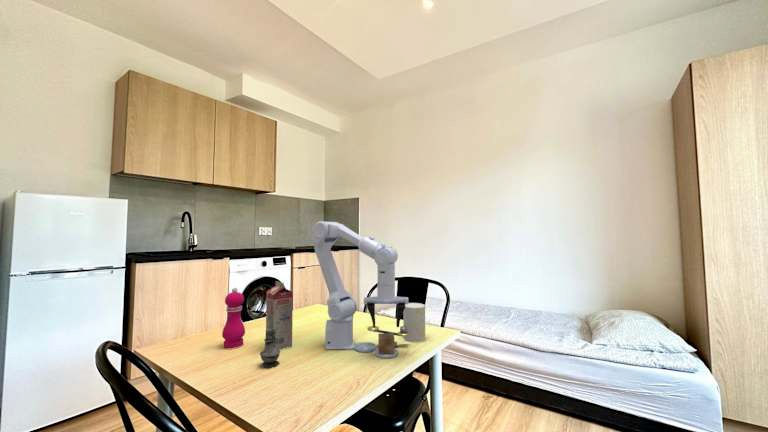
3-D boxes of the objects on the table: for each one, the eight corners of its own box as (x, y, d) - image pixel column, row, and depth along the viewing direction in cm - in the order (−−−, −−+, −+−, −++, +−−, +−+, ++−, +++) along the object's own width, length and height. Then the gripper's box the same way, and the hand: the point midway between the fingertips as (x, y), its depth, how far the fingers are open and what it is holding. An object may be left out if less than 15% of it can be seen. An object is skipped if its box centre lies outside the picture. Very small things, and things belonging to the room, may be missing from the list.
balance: (367, 348, 106) (367, 329, 106) (367, 344, 110) (367, 325, 110) (410, 347, 106) (409, 328, 107) (408, 343, 110) (408, 325, 111)
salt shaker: (260, 370, 89) (261, 327, 90) (258, 362, 94) (259, 322, 95) (281, 366, 92) (282, 325, 92) (278, 359, 97) (279, 320, 98)
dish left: (353, 352, 102) (353, 350, 102) (354, 344, 110) (354, 342, 110) (376, 352, 102) (376, 350, 102) (376, 344, 110) (376, 341, 110)
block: (378, 354, 98) (378, 338, 98) (378, 348, 103) (378, 333, 103) (394, 354, 98) (394, 338, 99) (393, 348, 103) (393, 333, 104)
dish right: (374, 358, 97) (374, 356, 97) (374, 349, 105) (374, 347, 105) (398, 358, 97) (398, 355, 97) (397, 349, 105) (397, 346, 105)
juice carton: (273, 351, 103) (274, 284, 104) (265, 345, 108) (266, 282, 109) (292, 346, 108) (292, 282, 109) (284, 341, 113) (284, 280, 114)
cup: (418, 343, 111) (417, 309, 111) (399, 338, 115) (399, 305, 116) (429, 337, 117) (429, 304, 118) (410, 333, 122) (410, 302, 123)
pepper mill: (216, 347, 107) (218, 288, 108) (234, 340, 113) (235, 285, 114) (232, 350, 104) (233, 290, 105) (249, 343, 111) (250, 286, 112)
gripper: (363, 286, 98) (363, 330, 97) (409, 286, 98) (409, 330, 98) (364, 282, 105) (364, 323, 104) (407, 282, 105) (407, 323, 105)
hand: (385, 326), depth 101 cm, fingers open, 7 cm apart
